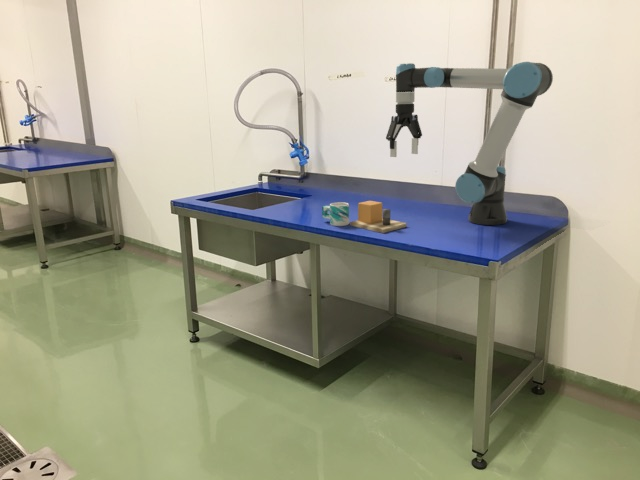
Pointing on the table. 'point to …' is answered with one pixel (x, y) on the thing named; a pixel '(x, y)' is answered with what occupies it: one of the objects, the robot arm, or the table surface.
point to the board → (381, 224)
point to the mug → (337, 213)
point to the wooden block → (370, 212)
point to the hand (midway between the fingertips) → (404, 155)
